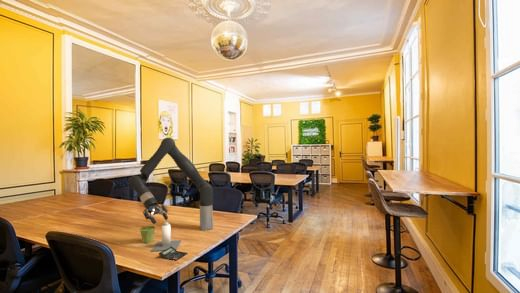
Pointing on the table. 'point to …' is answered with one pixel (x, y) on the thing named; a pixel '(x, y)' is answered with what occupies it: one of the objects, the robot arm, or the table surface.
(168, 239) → the bottle
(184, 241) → the table surface
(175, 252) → the calculator
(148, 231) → the plant pot
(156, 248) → the mat
